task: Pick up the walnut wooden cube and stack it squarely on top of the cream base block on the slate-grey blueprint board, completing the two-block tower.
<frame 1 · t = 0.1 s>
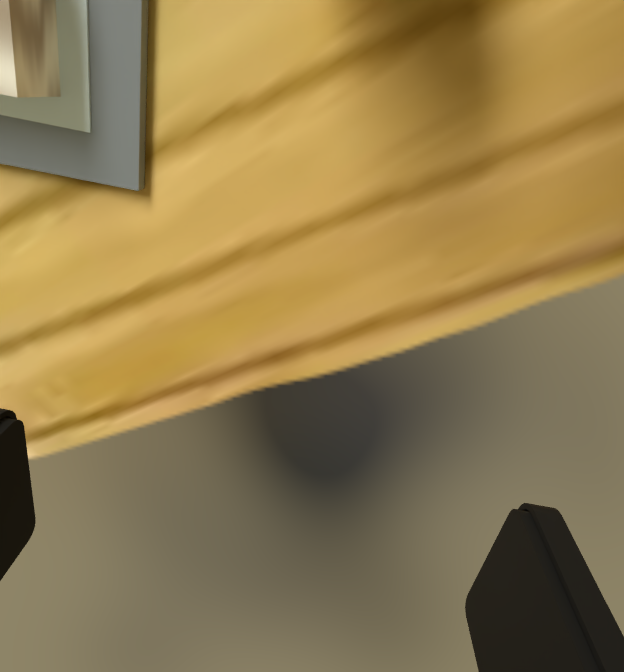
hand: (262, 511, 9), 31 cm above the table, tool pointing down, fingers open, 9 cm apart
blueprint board: (1, 10, 33), on the table
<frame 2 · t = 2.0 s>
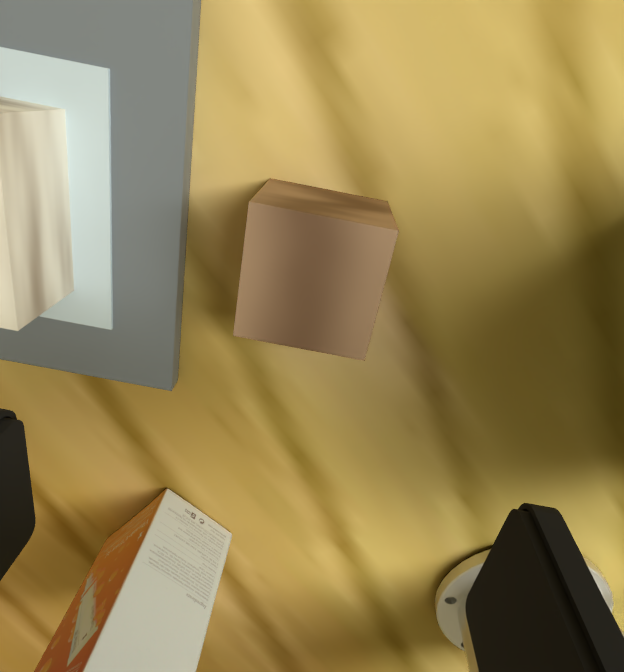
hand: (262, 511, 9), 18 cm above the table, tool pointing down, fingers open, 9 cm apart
walnut cube: (318, 246, 26), on the table
small box: (169, 533, 36), on the table
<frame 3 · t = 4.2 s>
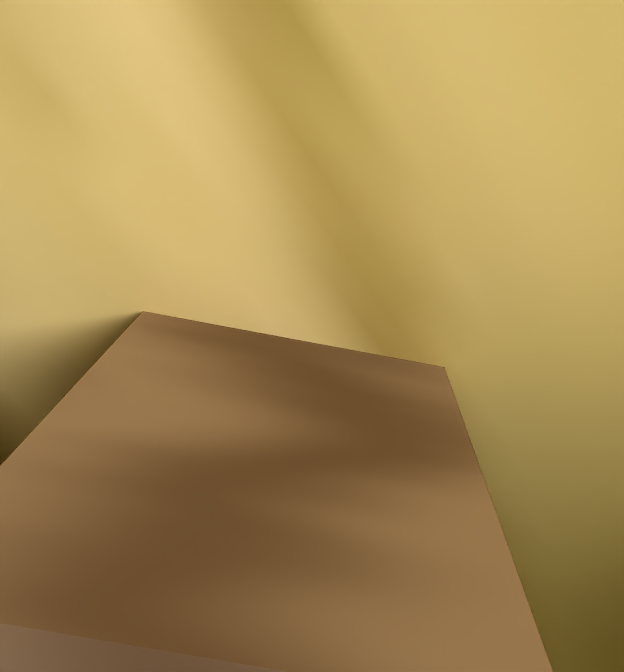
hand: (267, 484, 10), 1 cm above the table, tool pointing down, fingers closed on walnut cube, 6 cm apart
walnut cube: (273, 456, 11), on the table, touching gripper
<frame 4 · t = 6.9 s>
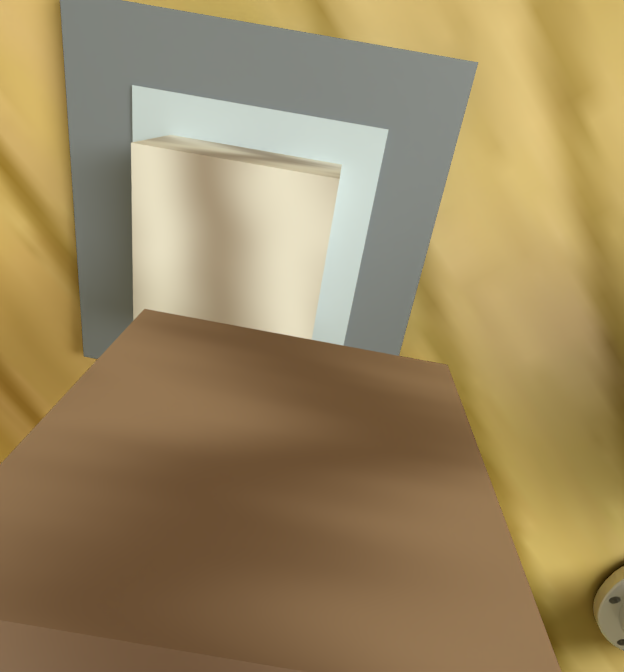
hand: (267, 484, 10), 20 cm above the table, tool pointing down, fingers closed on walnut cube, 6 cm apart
walnut cube: (275, 454, 11), point 19 cm above the table, touching gripper
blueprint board: (252, 228, 28), on the table
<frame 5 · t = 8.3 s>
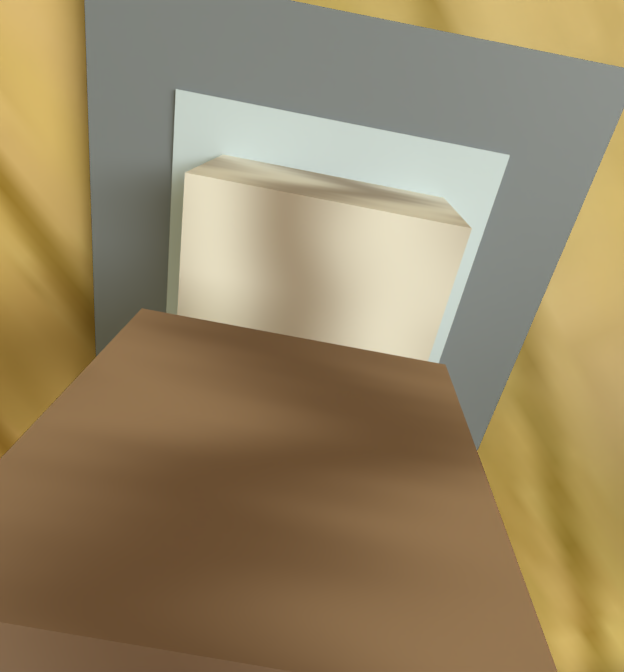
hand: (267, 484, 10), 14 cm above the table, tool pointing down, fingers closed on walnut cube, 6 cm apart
walnut cube: (273, 454, 11), point 13 cm above the table, touching gripper
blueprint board: (315, 270, 23), on the table
when the fingers open (9 cm above the table, at t = 9.7 s): walnut cube drops 1 cm, resting on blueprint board.
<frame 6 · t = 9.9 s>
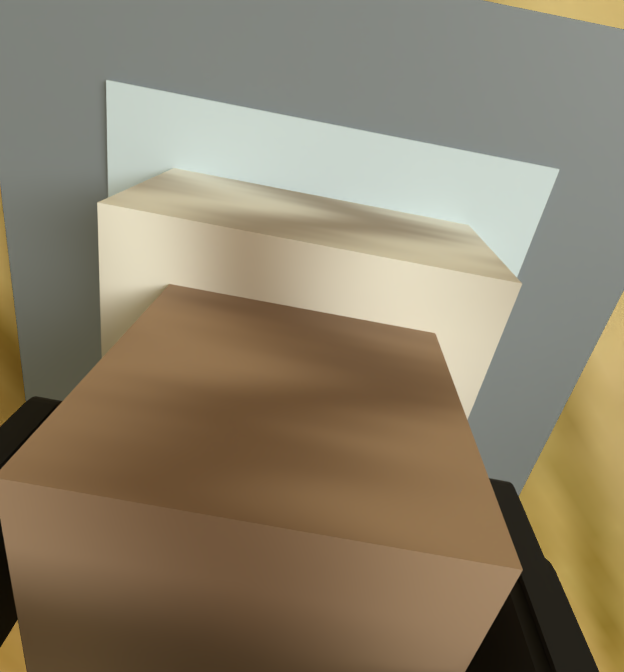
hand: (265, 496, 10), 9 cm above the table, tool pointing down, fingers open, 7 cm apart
walnut cube: (283, 416, 12), point 6 cm above the table, touching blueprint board
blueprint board: (301, 311, 18), on the table
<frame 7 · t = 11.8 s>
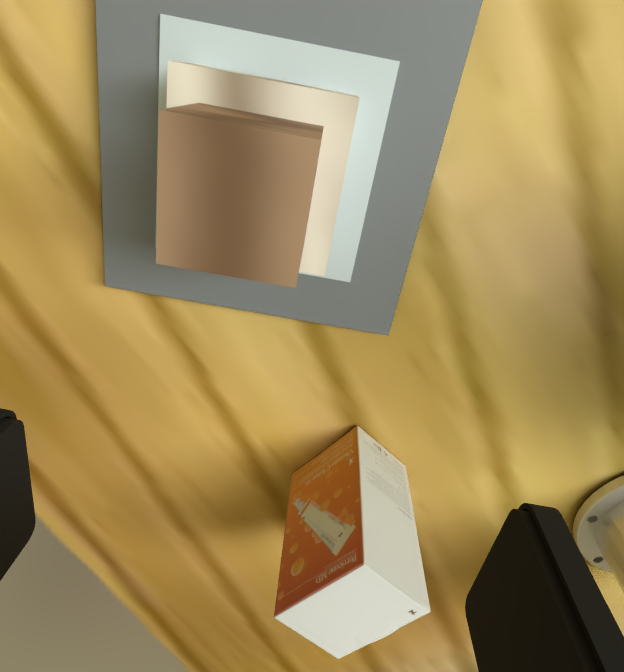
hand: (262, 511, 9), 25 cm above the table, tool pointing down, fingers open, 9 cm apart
walnut cube: (254, 178, 24), point 6 cm above the table, touching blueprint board
small box: (347, 467, 42), on the table
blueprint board: (268, 160, 30), on the table
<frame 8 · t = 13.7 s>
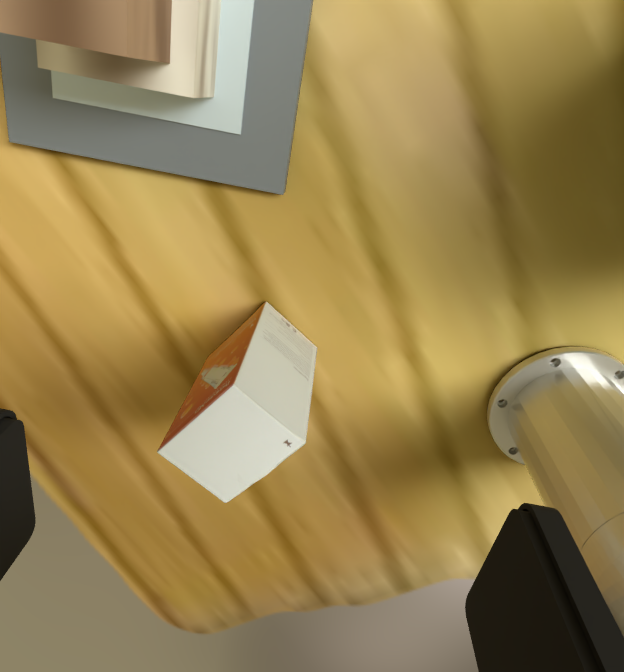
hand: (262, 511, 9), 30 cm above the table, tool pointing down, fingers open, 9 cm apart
small box: (261, 350, 43), on the table
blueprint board: (156, 7, 31), on the table
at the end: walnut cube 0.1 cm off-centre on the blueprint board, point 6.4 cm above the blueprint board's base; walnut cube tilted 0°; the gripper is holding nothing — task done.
